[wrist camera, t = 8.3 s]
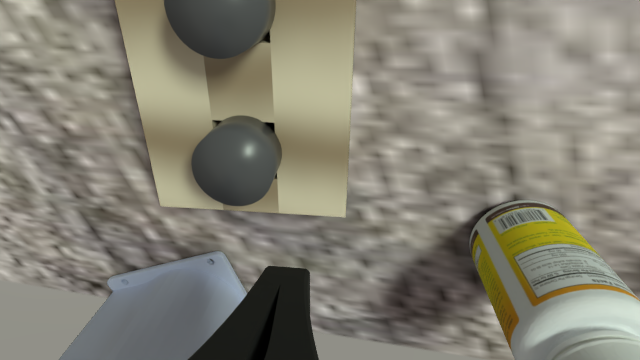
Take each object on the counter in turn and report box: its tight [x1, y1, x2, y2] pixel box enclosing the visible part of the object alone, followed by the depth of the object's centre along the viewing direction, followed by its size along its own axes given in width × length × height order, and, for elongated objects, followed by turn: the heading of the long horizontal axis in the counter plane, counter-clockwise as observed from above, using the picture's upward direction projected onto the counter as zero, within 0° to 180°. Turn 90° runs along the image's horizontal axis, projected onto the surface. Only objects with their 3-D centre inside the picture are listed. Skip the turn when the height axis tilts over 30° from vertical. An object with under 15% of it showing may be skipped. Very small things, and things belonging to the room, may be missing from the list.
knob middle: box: [164, 0, 276, 59], centre depth 15 cm, size 4×4×5 cm
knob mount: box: [115, 0, 356, 217], centre depth 16 cm, size 20×10×3 cm, turn 0°
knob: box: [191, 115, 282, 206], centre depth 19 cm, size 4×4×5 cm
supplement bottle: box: [469, 200, 640, 360], centre depth 18 cm, size 6×6×10 cm
